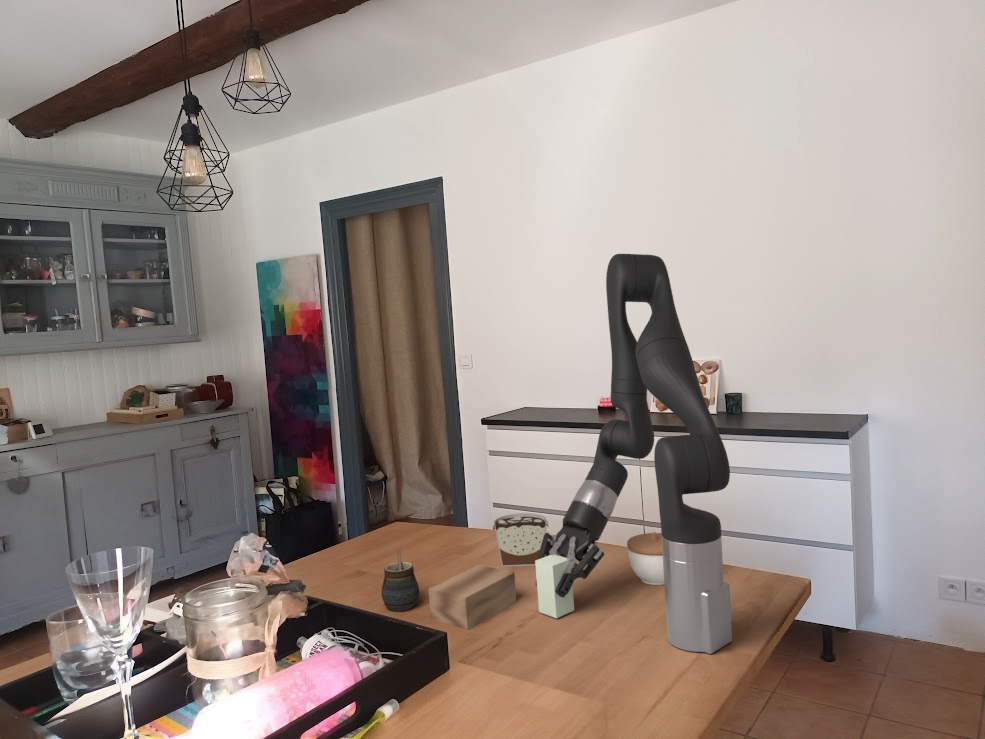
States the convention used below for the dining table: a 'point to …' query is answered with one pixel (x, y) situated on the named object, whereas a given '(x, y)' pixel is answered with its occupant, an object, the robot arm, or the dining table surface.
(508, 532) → the food container
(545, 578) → the sage block
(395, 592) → the mate gourd
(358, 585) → the dining table surface
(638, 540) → the lidded jar
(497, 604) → the walnut block
